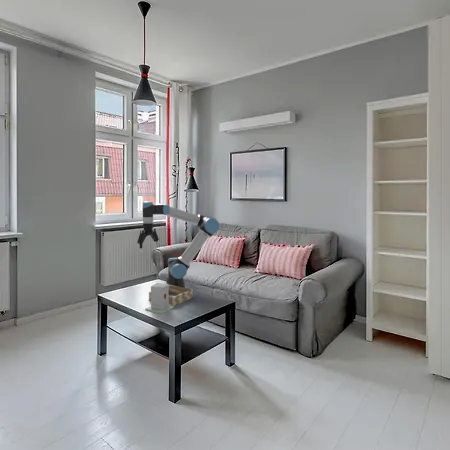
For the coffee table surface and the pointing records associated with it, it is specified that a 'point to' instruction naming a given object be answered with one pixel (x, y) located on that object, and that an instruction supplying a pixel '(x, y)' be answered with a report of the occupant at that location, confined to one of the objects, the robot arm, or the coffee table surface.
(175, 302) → the crate
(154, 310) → the mat
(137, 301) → the coffee table surface
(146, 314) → the coffee table surface
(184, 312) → the coffee table surface
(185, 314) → the coffee table surface
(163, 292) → the supplement box
